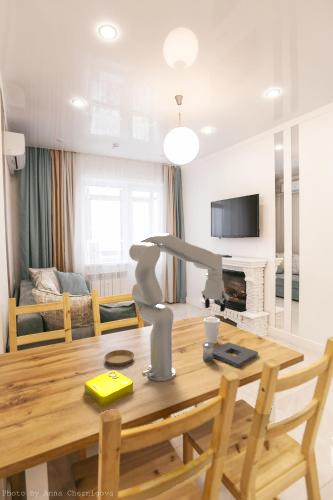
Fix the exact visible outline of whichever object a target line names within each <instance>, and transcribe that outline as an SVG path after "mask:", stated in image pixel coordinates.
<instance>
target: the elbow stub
mask: <svg viewBox="0 0 333 500" xmlns="http://www.w3.org/2000/svg"><path fill="white" fill-rule="evenodd" d="M214 346H215V344H213V343H210V342H202V361H203V362H205V363H212V362H214V358H213V349H214Z"/></svg>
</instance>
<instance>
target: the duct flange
mask: <svg viewBox="0 0 333 500" xmlns="http://www.w3.org/2000/svg"><path fill="white" fill-rule="evenodd" d="M231 353H233V354H231ZM234 354H236V355H234ZM258 355H259V351H255V350H253V349H250V348H247V347H244V346H241V345H238V344H235V343H233V342H229V341H227V342H225V343H224V344H221V345H219V346H217V347H215V348H213V359H216V360H218V361H221V362H224V363H226V364H229V365H231V366H234V367H235V368H241V367H243V366H245V365H246V364H247V363H248V362H251V361H252V360H254V359H255V358H257V357H258Z"/></svg>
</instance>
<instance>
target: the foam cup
mask: <svg viewBox="0 0 333 500" xmlns="http://www.w3.org/2000/svg"><path fill="white" fill-rule="evenodd" d="M203 326H204V327H203V328H204V334H205V340H206V342H210V343H213V344H214V345H215V344H217V343H218V340H219V331H220V326H221V319H220V318H218V317H213V316H212V317H209V316H208V317H204V319H203Z"/></svg>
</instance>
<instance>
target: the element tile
mask: <svg viewBox="0 0 333 500" xmlns="http://www.w3.org/2000/svg"><path fill="white" fill-rule="evenodd" d="M133 392H134V382H133V380H131V379H130V378H129V377H127V376H125V375H124V374H122V373H120V372H119V371H118V370H116V369H113V370H109V371H107V372H104V373H103V374H100V375H98V376H95V377H93V378H91V379H89V380H88V379H87V380H86V381H84V394H85V395H86V396H87V397H88V398H89V397H90V398H91V400H92V402H94V403H95V404H96V405H97V406H99V407H100V408H105V406H106V407H108V406H110V405H113V404H115V403H116V402H118V401H120V400H121V399H123V398H126V397H127V396H130V395H131V394H133ZM90 398H89V399H90Z"/></svg>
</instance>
